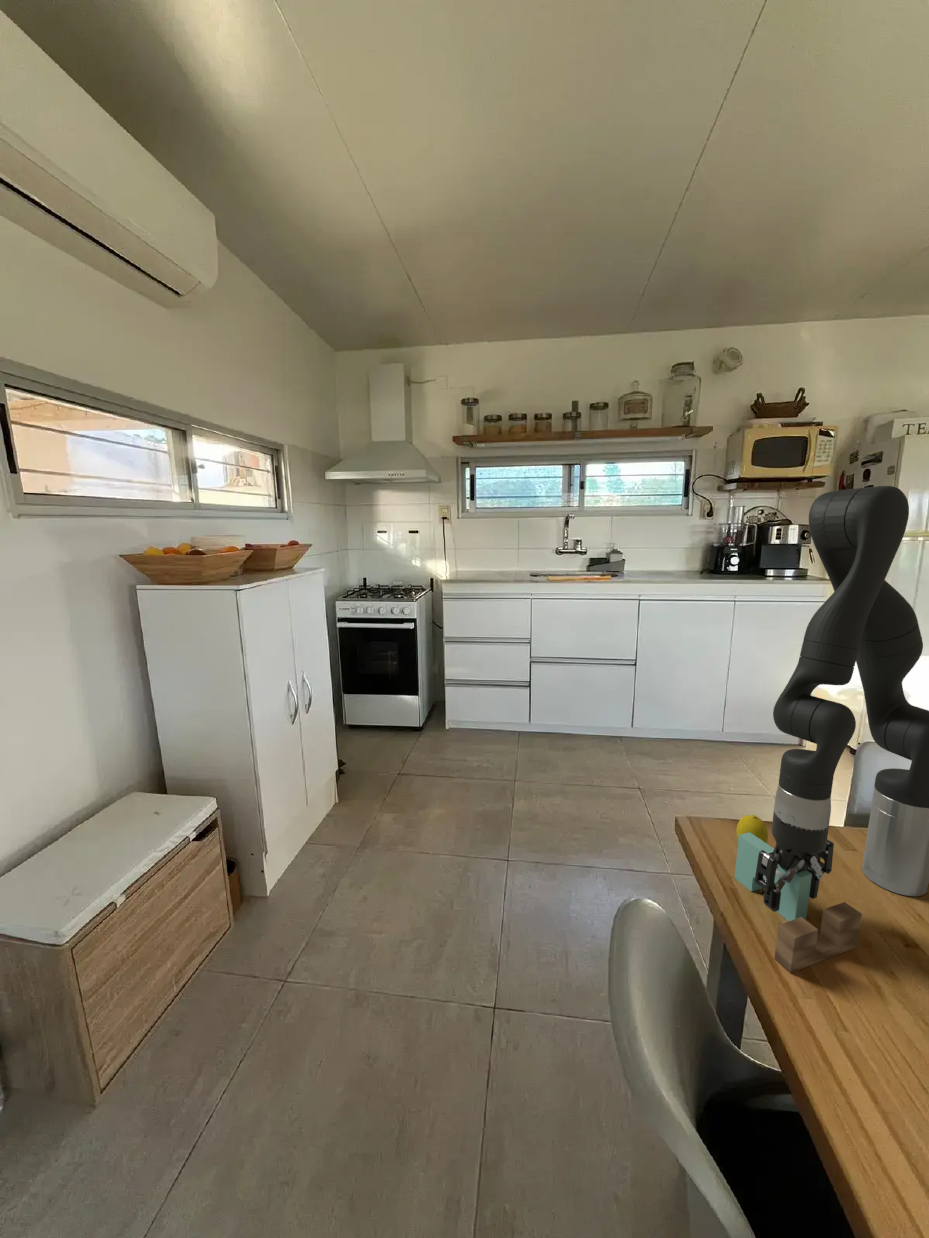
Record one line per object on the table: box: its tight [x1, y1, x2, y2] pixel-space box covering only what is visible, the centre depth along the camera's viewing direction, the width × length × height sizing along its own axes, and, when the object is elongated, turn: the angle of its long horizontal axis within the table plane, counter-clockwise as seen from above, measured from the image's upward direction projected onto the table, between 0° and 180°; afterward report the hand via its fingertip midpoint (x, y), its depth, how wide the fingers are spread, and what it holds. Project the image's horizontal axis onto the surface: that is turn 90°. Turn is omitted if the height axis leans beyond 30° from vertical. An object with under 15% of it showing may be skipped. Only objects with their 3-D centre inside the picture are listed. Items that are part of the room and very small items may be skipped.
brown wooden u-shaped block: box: [774, 901, 863, 974], centre depth 77 cm, size 14×3×6 cm, turn 108°
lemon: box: [735, 814, 769, 844], centre depth 100 cm, size 6×6×8 cm
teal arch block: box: [734, 832, 812, 922], centre depth 88 cm, size 12×3×9 cm, turn 18°
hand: (790, 901), depth 84 cm, fingers open, 8 cm apart
